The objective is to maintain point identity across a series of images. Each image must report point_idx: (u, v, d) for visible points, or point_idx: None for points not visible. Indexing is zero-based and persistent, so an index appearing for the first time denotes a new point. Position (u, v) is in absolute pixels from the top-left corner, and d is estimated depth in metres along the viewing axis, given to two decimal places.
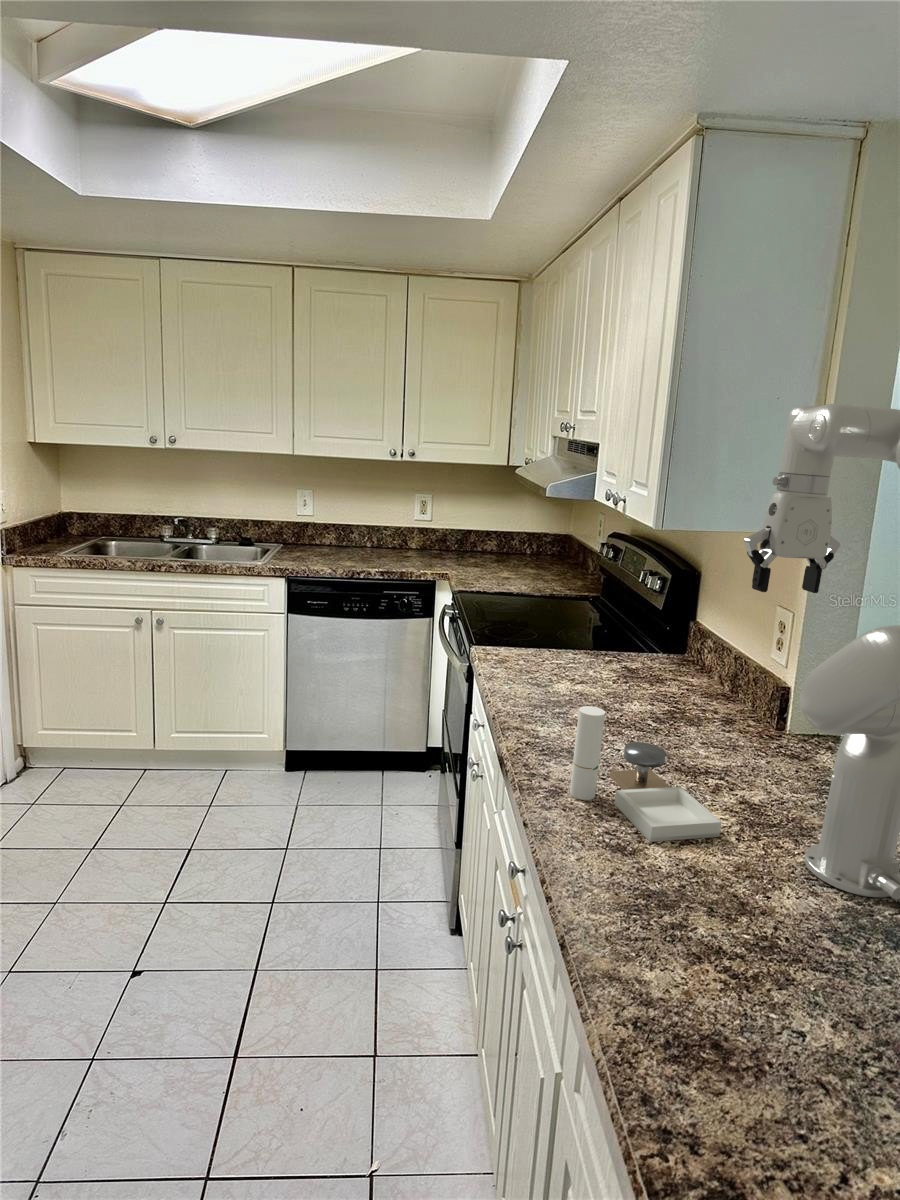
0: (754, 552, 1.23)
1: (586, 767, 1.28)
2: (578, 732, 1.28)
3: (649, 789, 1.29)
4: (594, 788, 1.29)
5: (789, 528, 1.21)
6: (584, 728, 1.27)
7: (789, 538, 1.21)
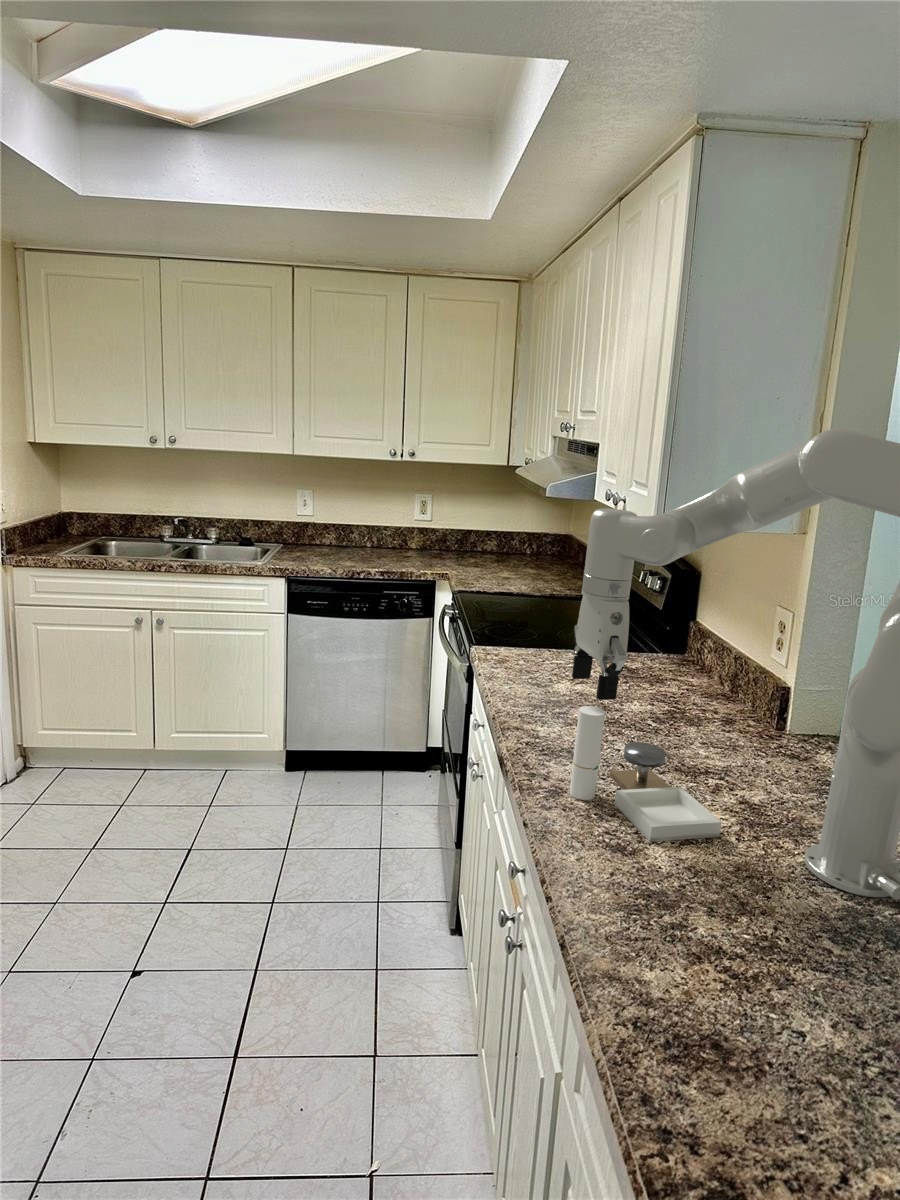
0: (623, 666, 1.19)
1: (586, 767, 1.28)
2: (578, 732, 1.28)
3: (649, 789, 1.29)
4: (594, 788, 1.29)
5: None
6: (584, 728, 1.27)
7: None
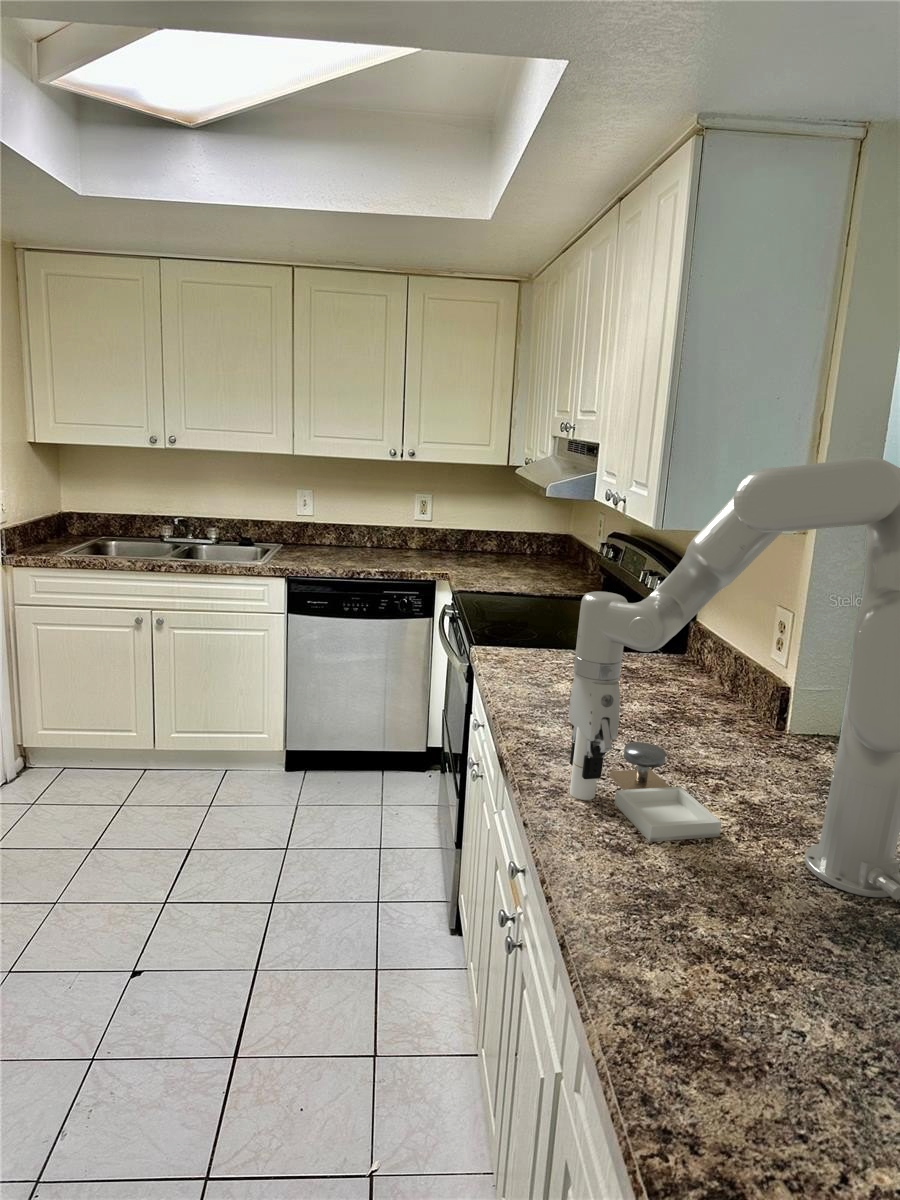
0: None
1: None
2: (578, 732, 1.28)
3: (649, 789, 1.29)
4: (594, 788, 1.29)
5: None
6: None
7: None
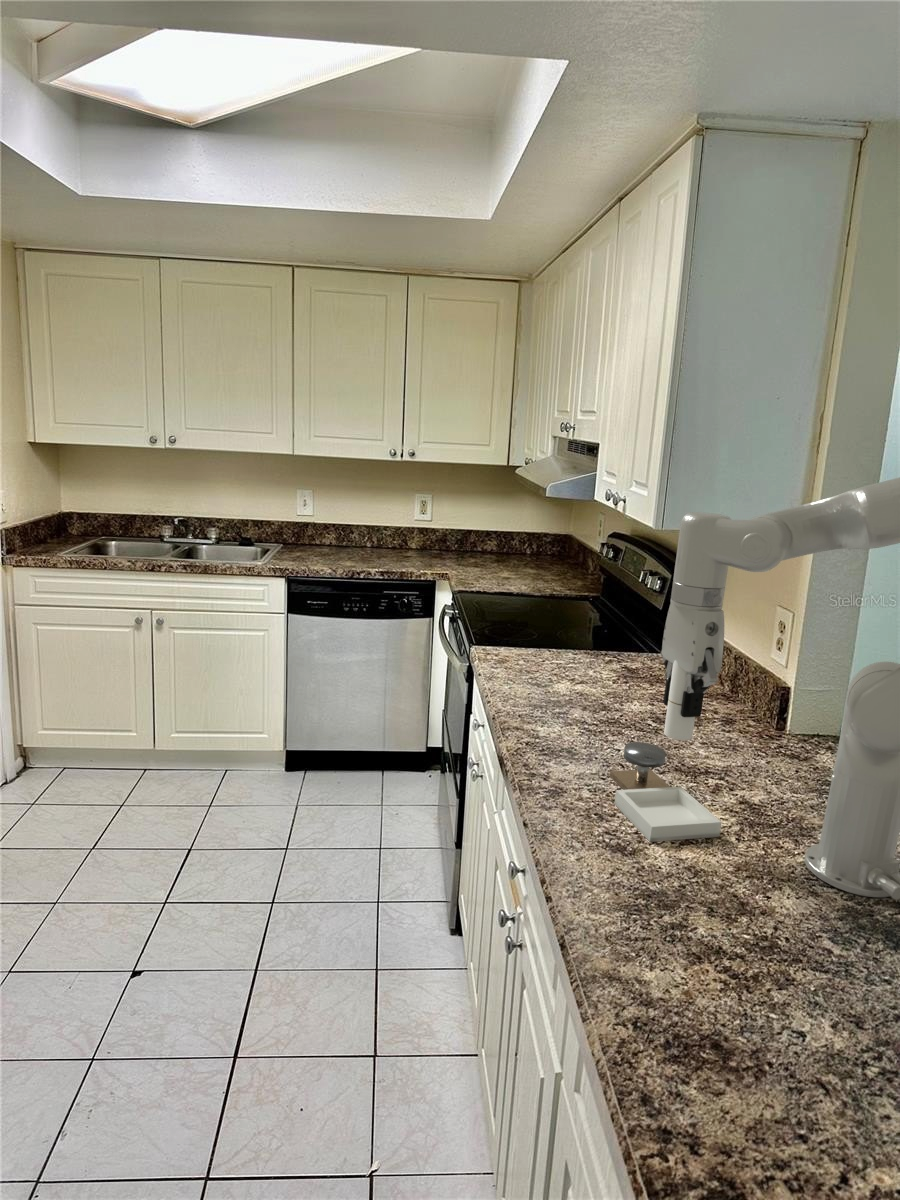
0: None
1: None
2: (676, 666, 1.18)
3: (649, 789, 1.29)
4: (692, 728, 1.19)
5: None
6: None
7: None
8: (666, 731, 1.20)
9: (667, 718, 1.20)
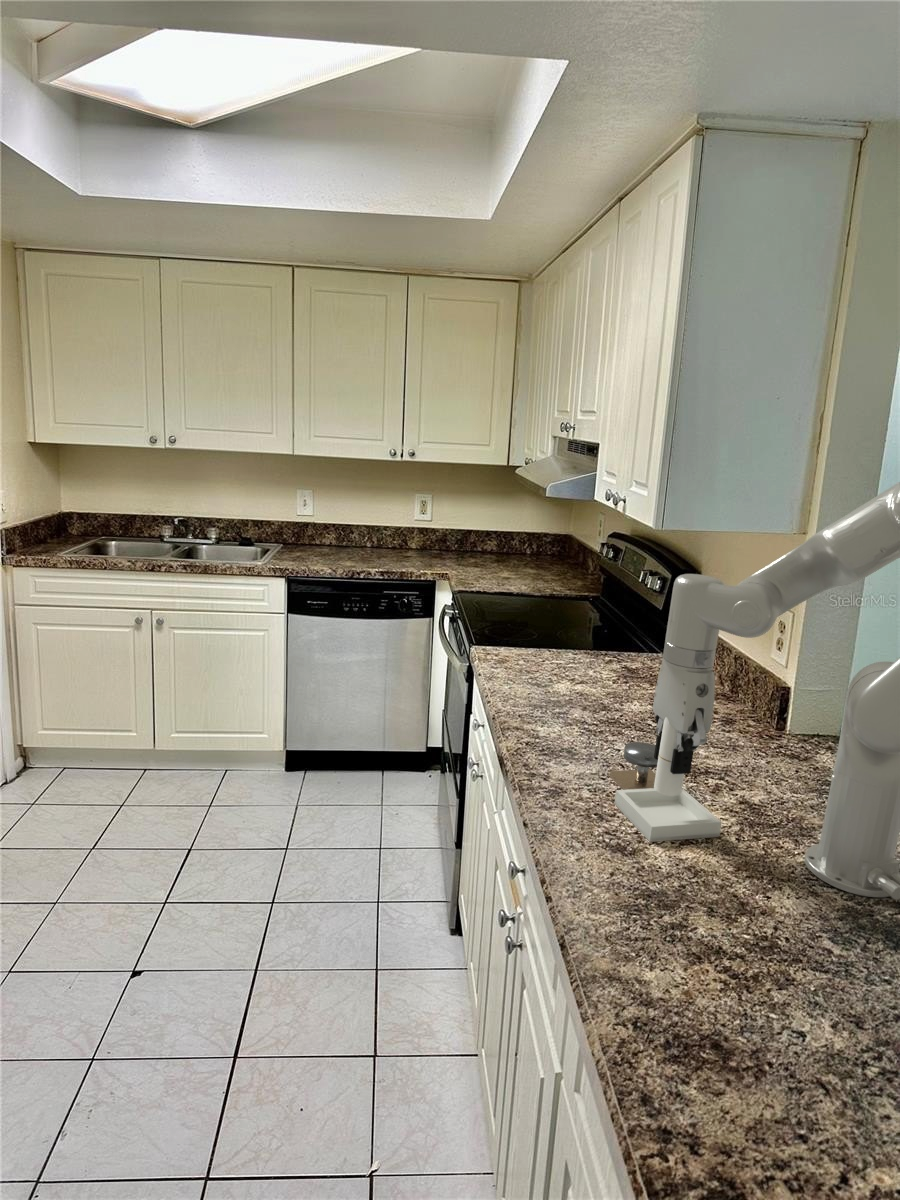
0: None
1: None
2: (666, 723, 1.20)
3: (649, 789, 1.29)
4: (681, 783, 1.21)
5: None
6: None
7: None
8: (656, 786, 1.22)
9: (657, 773, 1.22)
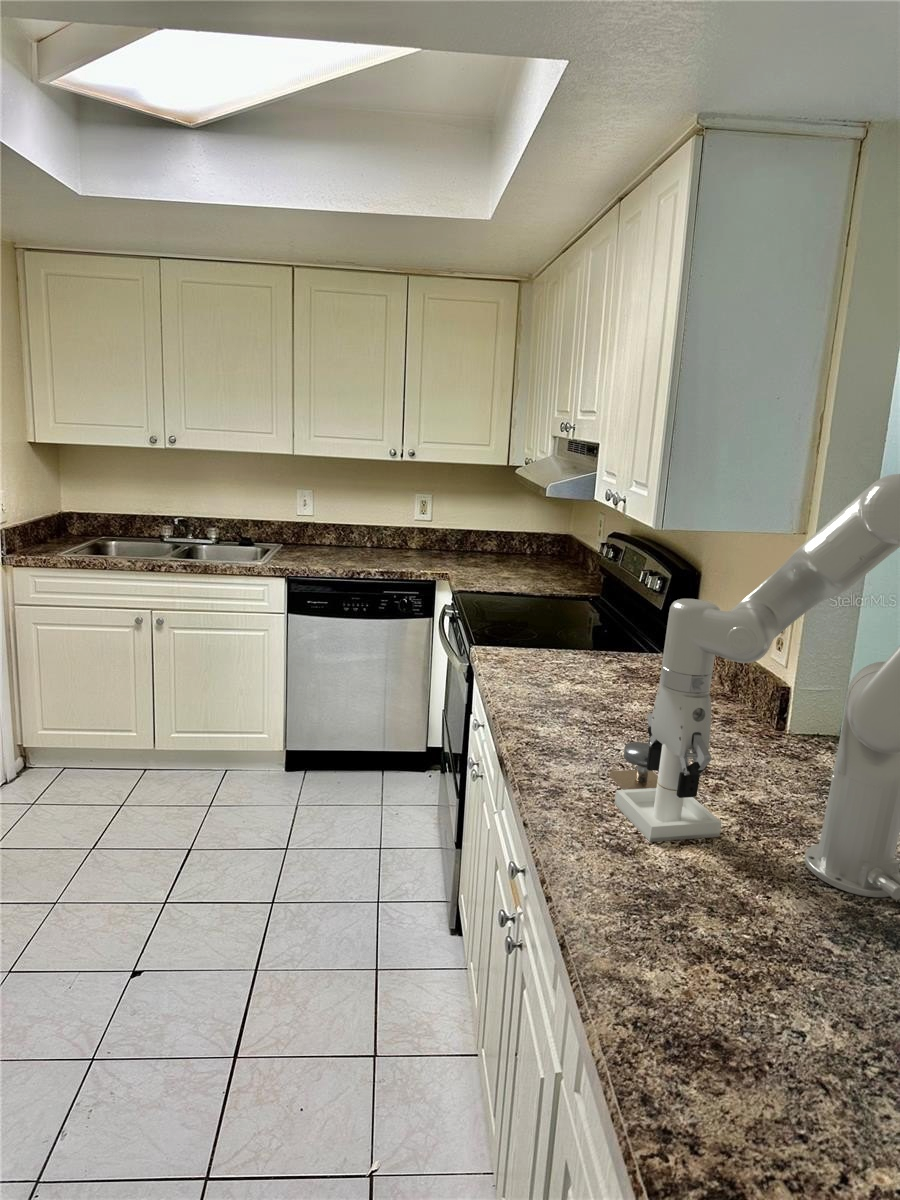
0: None
1: (673, 789, 1.21)
2: (664, 752, 1.21)
3: (649, 789, 1.29)
4: (680, 811, 1.22)
5: None
6: None
7: None
8: (655, 813, 1.23)
9: (656, 801, 1.23)
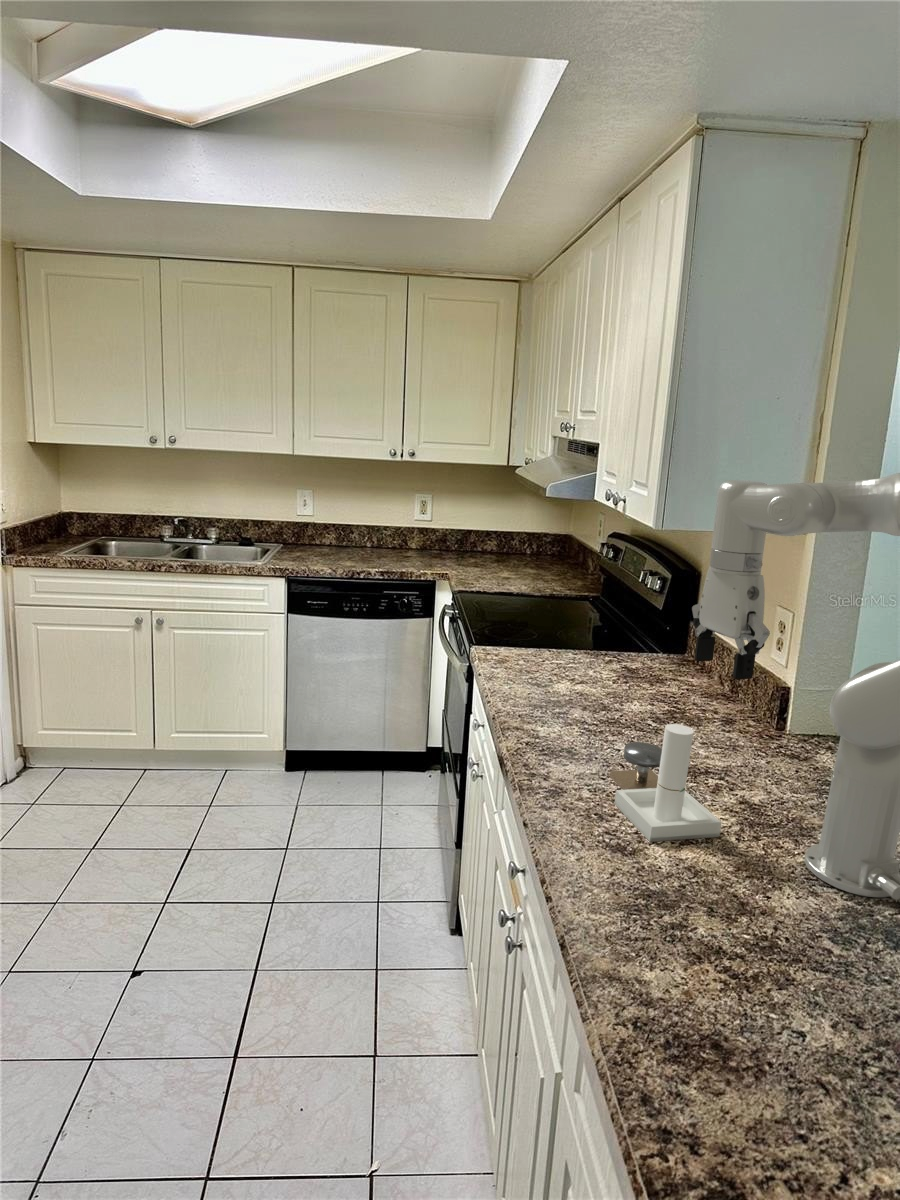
0: (763, 642, 1.14)
1: (673, 789, 1.21)
2: (664, 752, 1.21)
3: (649, 789, 1.29)
4: (680, 811, 1.22)
5: None
6: (671, 748, 1.20)
7: None
8: (655, 813, 1.23)
9: (656, 801, 1.23)
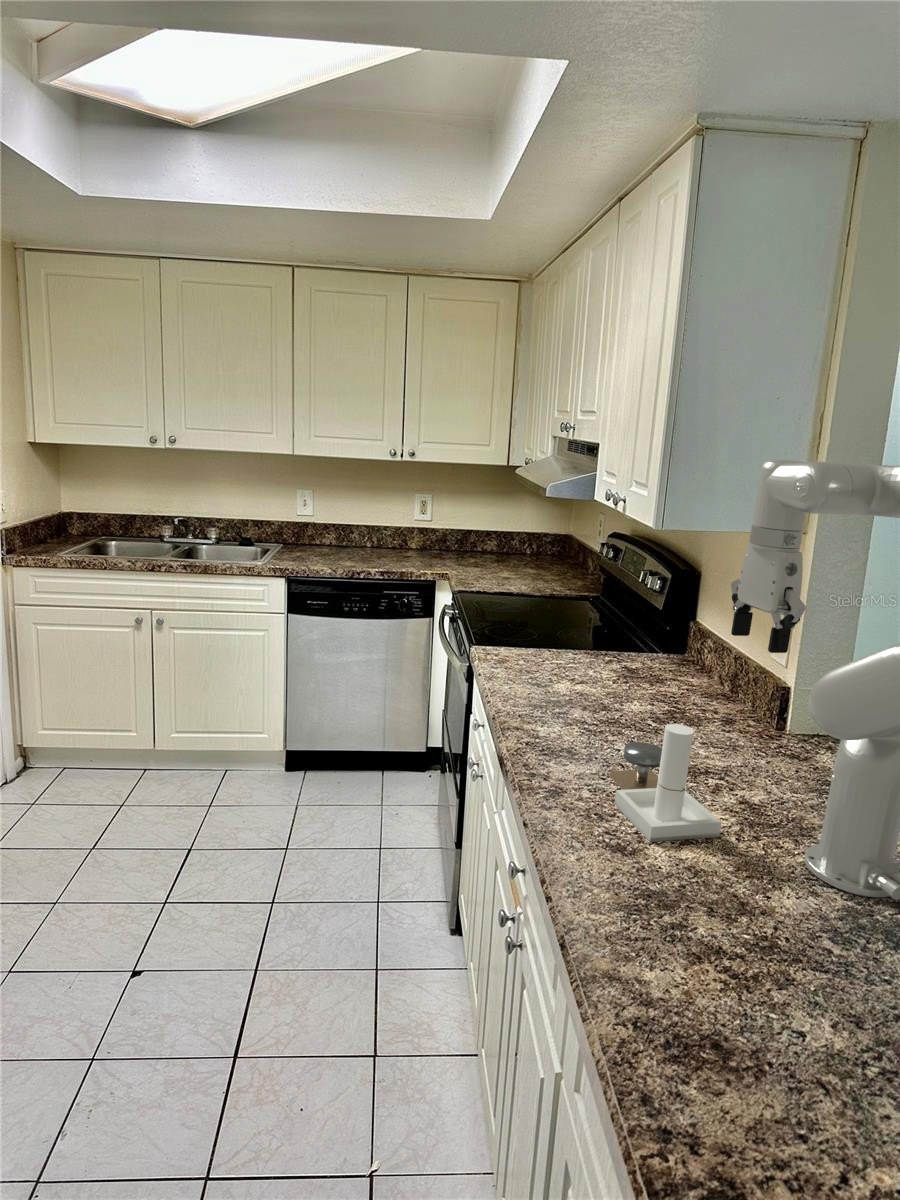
0: (799, 617, 1.17)
1: (673, 789, 1.21)
2: (664, 752, 1.21)
3: (649, 789, 1.29)
4: (680, 811, 1.22)
5: None
6: (671, 748, 1.20)
7: None
8: (655, 813, 1.23)
9: (656, 801, 1.23)
